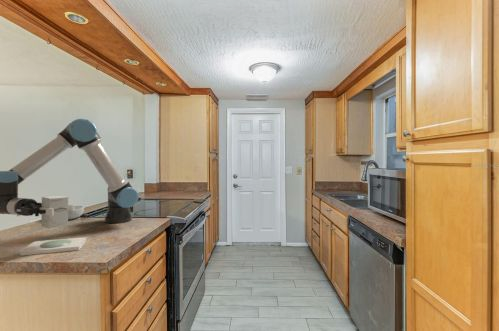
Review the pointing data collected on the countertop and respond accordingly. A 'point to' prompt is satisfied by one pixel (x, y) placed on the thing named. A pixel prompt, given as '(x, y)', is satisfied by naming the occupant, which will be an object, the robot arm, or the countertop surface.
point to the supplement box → (55, 211)
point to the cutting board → (53, 246)
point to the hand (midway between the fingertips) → (63, 210)
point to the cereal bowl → (75, 212)
